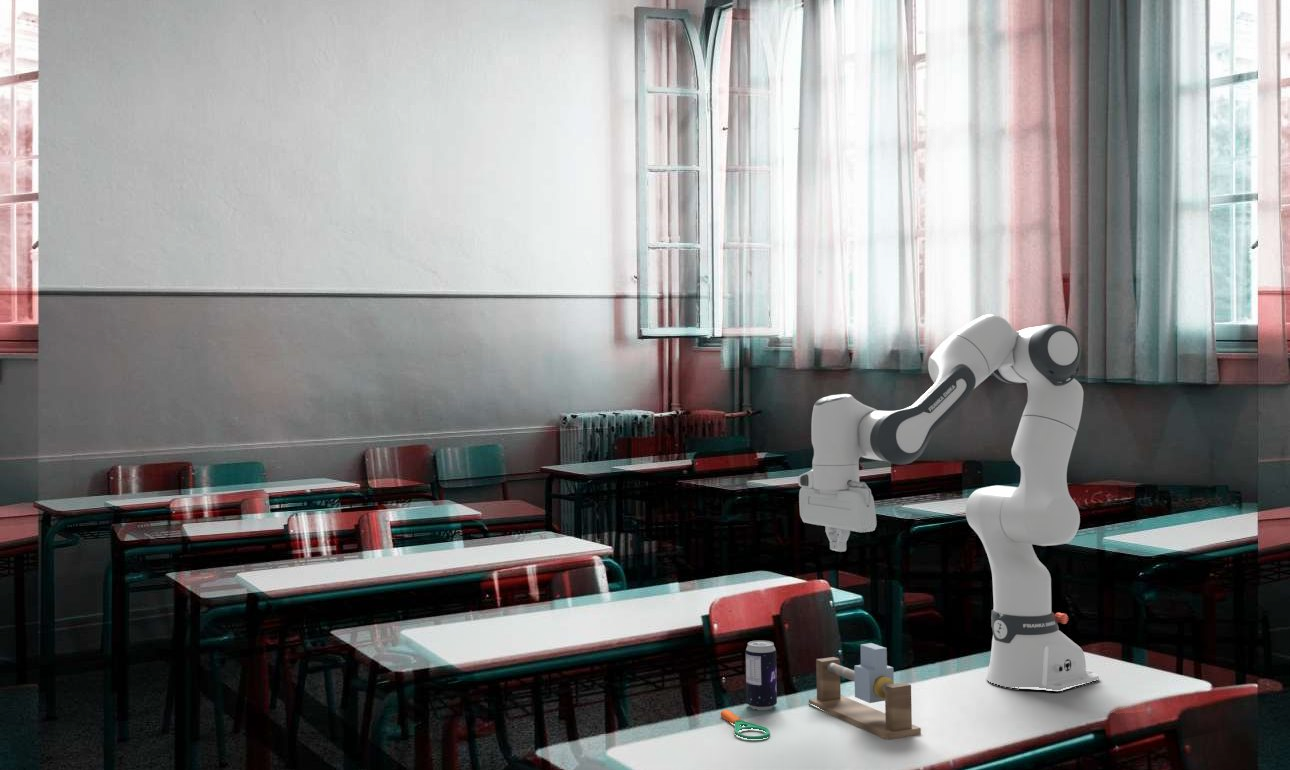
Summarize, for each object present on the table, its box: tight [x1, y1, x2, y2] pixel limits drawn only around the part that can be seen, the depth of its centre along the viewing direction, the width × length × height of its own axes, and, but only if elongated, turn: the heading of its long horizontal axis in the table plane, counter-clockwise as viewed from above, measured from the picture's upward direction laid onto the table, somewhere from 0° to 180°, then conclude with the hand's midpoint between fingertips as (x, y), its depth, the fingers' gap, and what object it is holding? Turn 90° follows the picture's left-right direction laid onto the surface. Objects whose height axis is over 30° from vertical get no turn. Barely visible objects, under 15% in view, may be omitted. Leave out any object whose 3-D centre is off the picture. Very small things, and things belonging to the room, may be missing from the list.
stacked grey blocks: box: [853, 642, 895, 704], centre depth 202 cm, size 4×5×9 cm
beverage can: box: [745, 640, 778, 711], centre depth 214 cm, size 6×6×12 cm
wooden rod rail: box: [808, 656, 922, 740], centre depth 206 cm, size 24×7×9 cm, turn 25°
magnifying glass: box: [720, 709, 771, 739], centre depth 201 cm, size 15×6×2 cm, turn 19°
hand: (838, 550), depth 219 cm, fingers closed
